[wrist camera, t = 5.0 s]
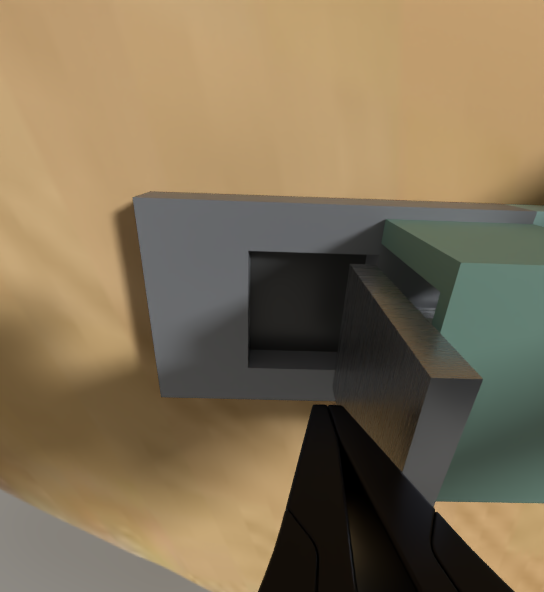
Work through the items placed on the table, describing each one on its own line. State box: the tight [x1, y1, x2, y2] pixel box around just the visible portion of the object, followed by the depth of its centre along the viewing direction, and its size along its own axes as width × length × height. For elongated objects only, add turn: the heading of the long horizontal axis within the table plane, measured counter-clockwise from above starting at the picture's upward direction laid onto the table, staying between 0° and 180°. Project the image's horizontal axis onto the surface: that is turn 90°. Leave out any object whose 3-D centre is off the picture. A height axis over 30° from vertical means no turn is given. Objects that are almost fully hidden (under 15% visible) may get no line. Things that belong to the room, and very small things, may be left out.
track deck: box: [133, 191, 544, 401], centre depth 15 cm, size 23×10×2 cm, turn 88°
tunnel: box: [381, 219, 544, 503], centre depth 12 cm, size 6×9×6 cm, turn 178°
